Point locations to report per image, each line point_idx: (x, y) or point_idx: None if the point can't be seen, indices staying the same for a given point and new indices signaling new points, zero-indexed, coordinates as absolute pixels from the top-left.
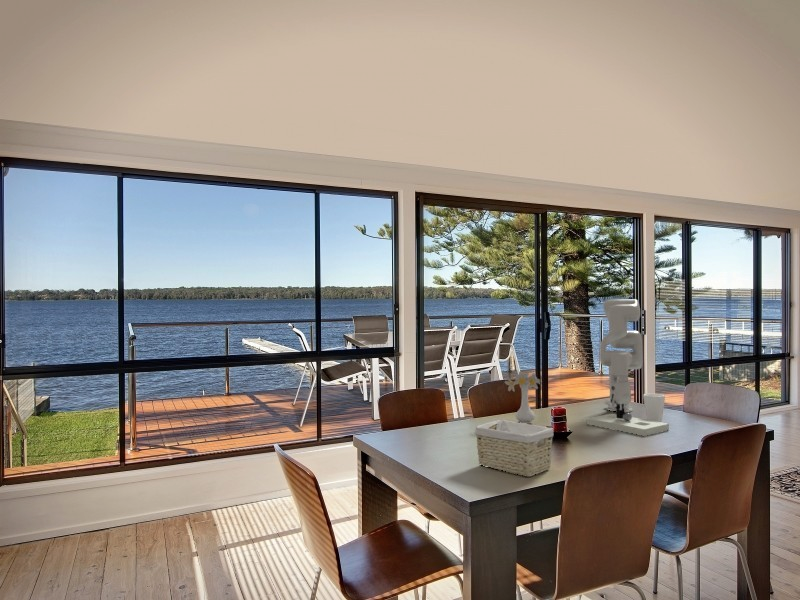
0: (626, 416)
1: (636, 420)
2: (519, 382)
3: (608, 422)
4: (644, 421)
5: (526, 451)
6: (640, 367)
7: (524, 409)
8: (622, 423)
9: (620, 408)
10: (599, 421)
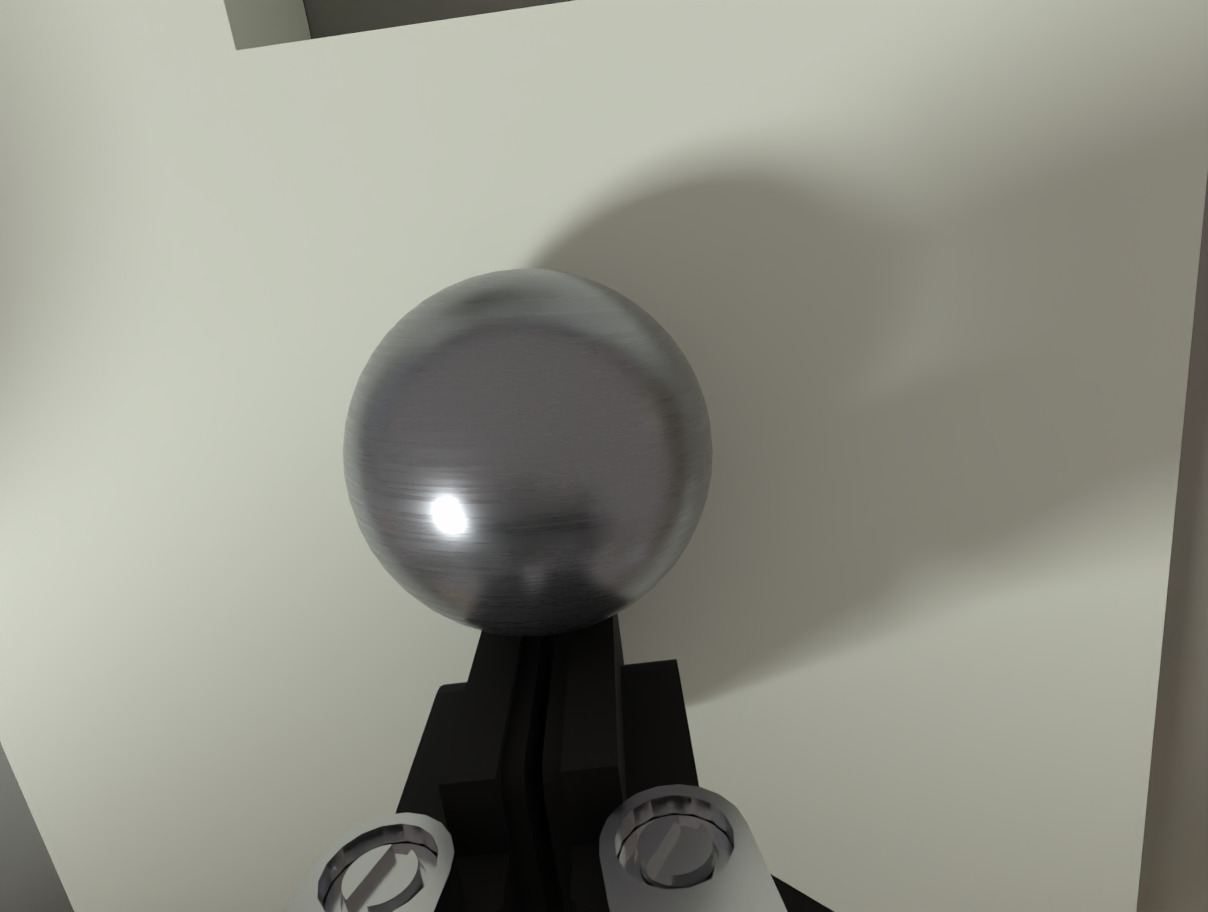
0: (687, 360)
1: (195, 326)
2: None
3: (1166, 567)
4: (39, 40)
5: None
6: None
7: None
8: (993, 211)
9: (744, 870)
10: (1124, 818)
